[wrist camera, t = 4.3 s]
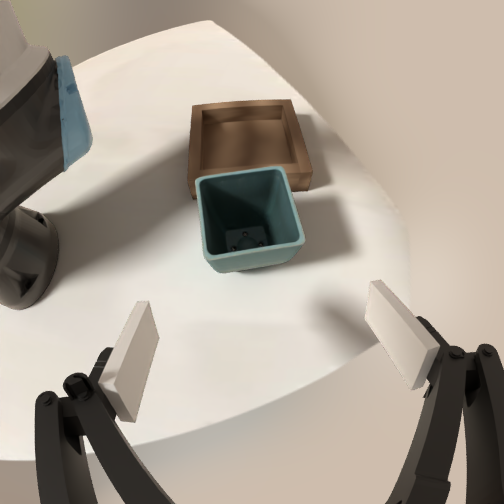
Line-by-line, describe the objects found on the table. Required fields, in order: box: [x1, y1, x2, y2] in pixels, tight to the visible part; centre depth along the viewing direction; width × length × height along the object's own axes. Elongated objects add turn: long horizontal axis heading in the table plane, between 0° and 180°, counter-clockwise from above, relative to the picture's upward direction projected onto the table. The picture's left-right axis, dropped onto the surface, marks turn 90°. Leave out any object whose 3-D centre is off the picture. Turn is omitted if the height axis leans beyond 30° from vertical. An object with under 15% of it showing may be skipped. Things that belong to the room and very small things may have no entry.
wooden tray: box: [188, 100, 313, 199], centre depth 38 cm, size 15×15×4 cm
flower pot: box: [195, 166, 306, 273], centre depth 29 cm, size 9×9×9 cm
